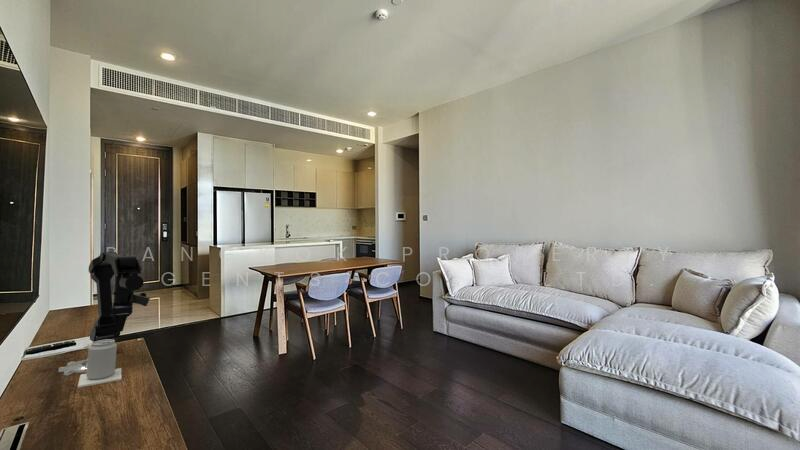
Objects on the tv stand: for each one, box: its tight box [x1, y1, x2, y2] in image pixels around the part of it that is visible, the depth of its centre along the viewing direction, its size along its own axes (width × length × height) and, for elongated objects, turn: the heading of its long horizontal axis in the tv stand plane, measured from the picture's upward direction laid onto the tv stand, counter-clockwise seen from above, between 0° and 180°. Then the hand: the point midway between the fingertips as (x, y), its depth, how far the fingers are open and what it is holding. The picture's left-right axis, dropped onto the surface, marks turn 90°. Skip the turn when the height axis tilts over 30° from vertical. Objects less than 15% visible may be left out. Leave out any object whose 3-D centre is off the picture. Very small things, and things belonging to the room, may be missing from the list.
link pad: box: [77, 367, 122, 389], centre depth 118 cm, size 11×11×1 cm
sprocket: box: [57, 357, 88, 376], centre depth 127 cm, size 16×16×2 cm
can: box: [87, 338, 118, 380], centre depth 118 cm, size 8×8×12 cm
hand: (121, 328), depth 132 cm, fingers open, 9 cm apart
